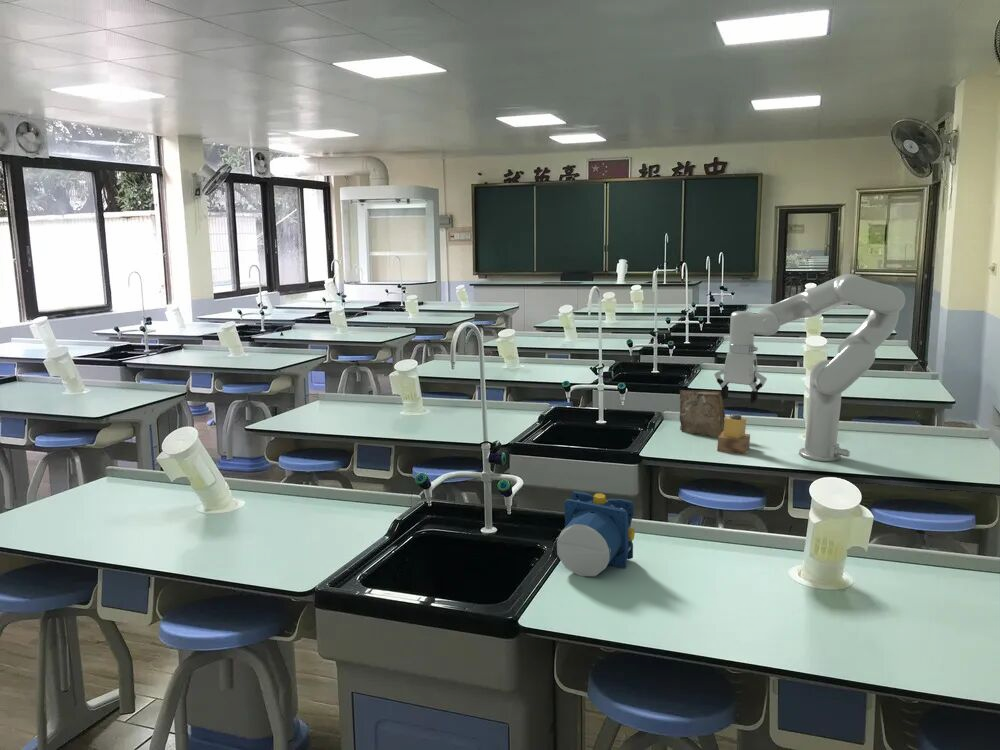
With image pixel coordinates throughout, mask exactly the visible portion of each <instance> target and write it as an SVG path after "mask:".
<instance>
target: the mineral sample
mask: <svg viewBox="0 0 1000 750" xmlns="http://www.w3.org/2000/svg"><path fill="white" fill-rule="evenodd" d="M721 392H722V390H721V391H720V390H693V389H692V390H691V389H687V390H685V389H684V390H683V389H679V400H680V401H679V402H680V403H679V404H680V405H679V409H680V411H679V423H680V427H679V430H680V431H681V432H682V433H686V434H692V435H693V434H694V435H704V436H708V437H713V438H717V439H718V437H719V435H720V434H721V433H722V431H724V421H725V418H726V412H725V406H724V403H725V401H724V400H725V399H724V400H723V399H722V396H721Z"/></svg>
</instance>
